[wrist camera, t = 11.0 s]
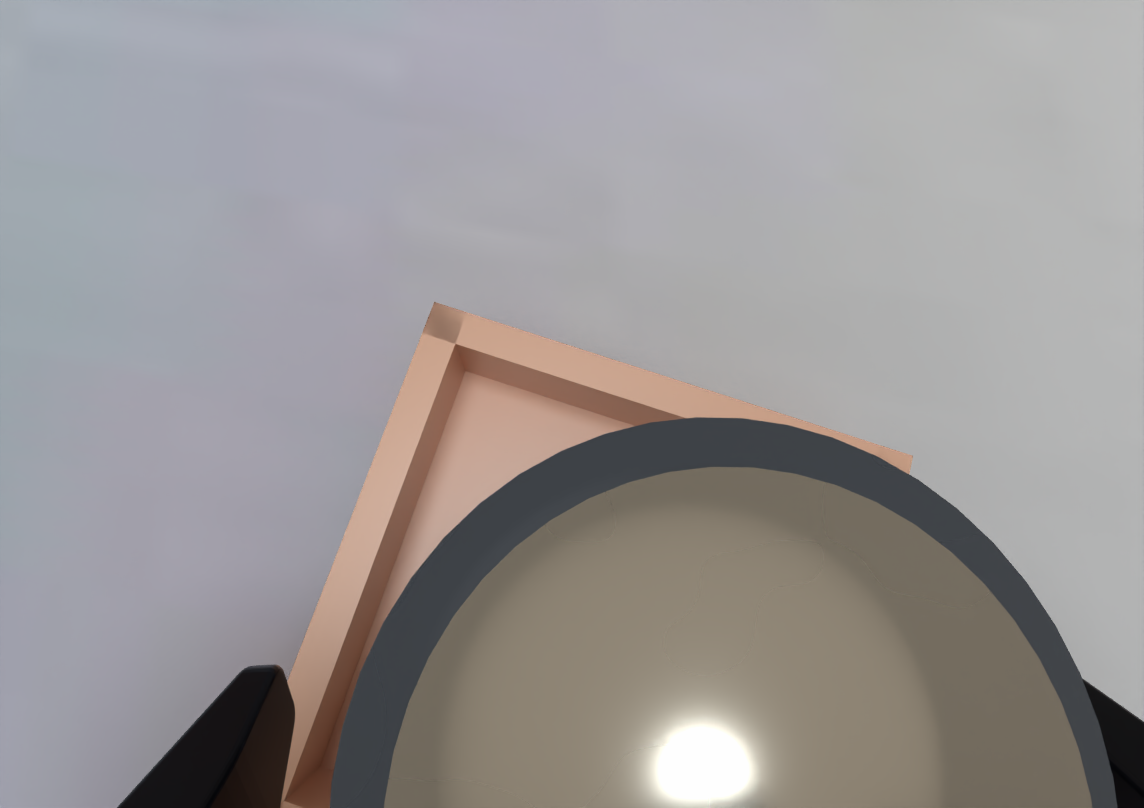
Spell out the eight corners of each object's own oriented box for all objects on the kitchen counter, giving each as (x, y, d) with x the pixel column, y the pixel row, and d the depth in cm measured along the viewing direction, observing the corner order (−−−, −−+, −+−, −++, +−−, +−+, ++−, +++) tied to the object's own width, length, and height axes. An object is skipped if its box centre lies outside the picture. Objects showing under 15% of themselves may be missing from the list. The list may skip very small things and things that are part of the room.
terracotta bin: (748, 939, 17) (795, 1021, 14) (282, 783, 17) (229, 830, 14) (854, 471, 19) (913, 456, 16) (449, 340, 19) (434, 302, 16)
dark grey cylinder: (598, 785, 16) (825, 1637, 4) (438, 632, 17) (122, 877, 4) (736, 613, 17) (1309, 779, 4) (580, 473, 18) (691, 261, 5)
